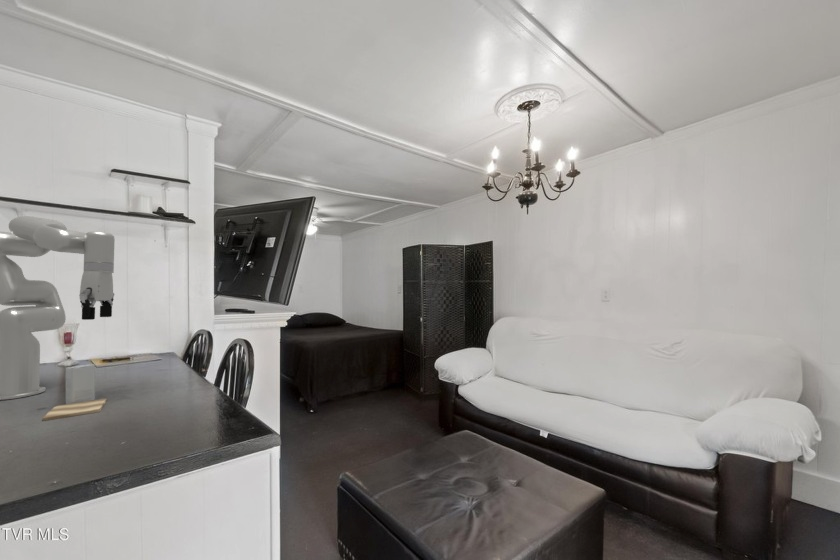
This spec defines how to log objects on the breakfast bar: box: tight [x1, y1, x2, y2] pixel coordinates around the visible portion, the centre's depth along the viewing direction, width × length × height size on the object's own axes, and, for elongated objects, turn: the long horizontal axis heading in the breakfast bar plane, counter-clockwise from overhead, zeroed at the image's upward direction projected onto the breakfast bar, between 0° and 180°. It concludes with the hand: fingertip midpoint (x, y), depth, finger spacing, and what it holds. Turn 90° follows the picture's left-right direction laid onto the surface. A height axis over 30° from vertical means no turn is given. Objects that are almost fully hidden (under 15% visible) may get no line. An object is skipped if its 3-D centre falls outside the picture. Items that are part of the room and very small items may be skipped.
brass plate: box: [41, 397, 108, 422], centre depth 105 cm, size 13×12×1 cm
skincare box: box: [65, 363, 96, 404], centre depth 113 cm, size 6×4×12 cm
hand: (97, 318), depth 116 cm, fingers open, 9 cm apart
